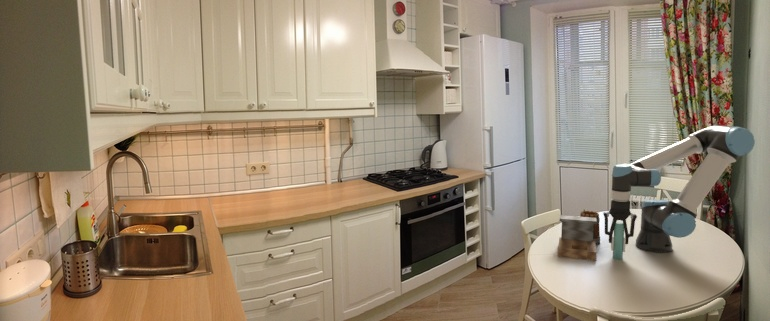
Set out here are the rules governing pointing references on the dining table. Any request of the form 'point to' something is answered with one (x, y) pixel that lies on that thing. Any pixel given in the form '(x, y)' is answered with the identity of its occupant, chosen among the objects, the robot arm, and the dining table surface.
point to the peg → (618, 241)
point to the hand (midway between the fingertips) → (617, 250)
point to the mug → (596, 226)
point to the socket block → (577, 238)
